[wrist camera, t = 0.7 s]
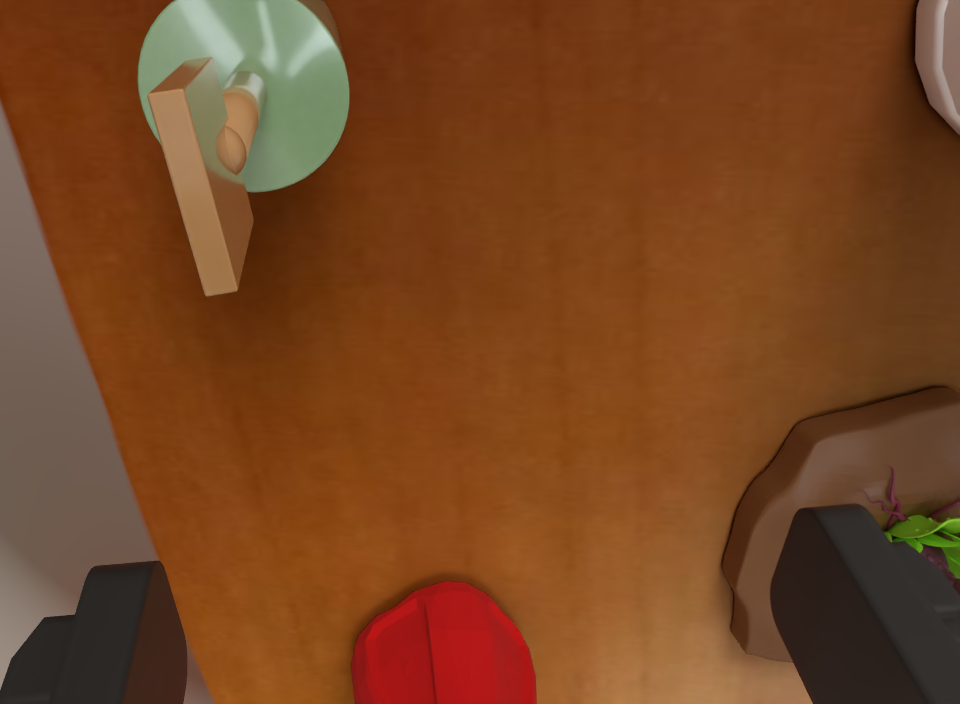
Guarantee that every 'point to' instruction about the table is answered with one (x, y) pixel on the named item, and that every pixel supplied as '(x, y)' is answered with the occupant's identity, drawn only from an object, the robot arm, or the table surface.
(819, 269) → the table surface
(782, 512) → the plant
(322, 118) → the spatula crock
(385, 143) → the table surface
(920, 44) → the bottle
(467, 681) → the water bottle
